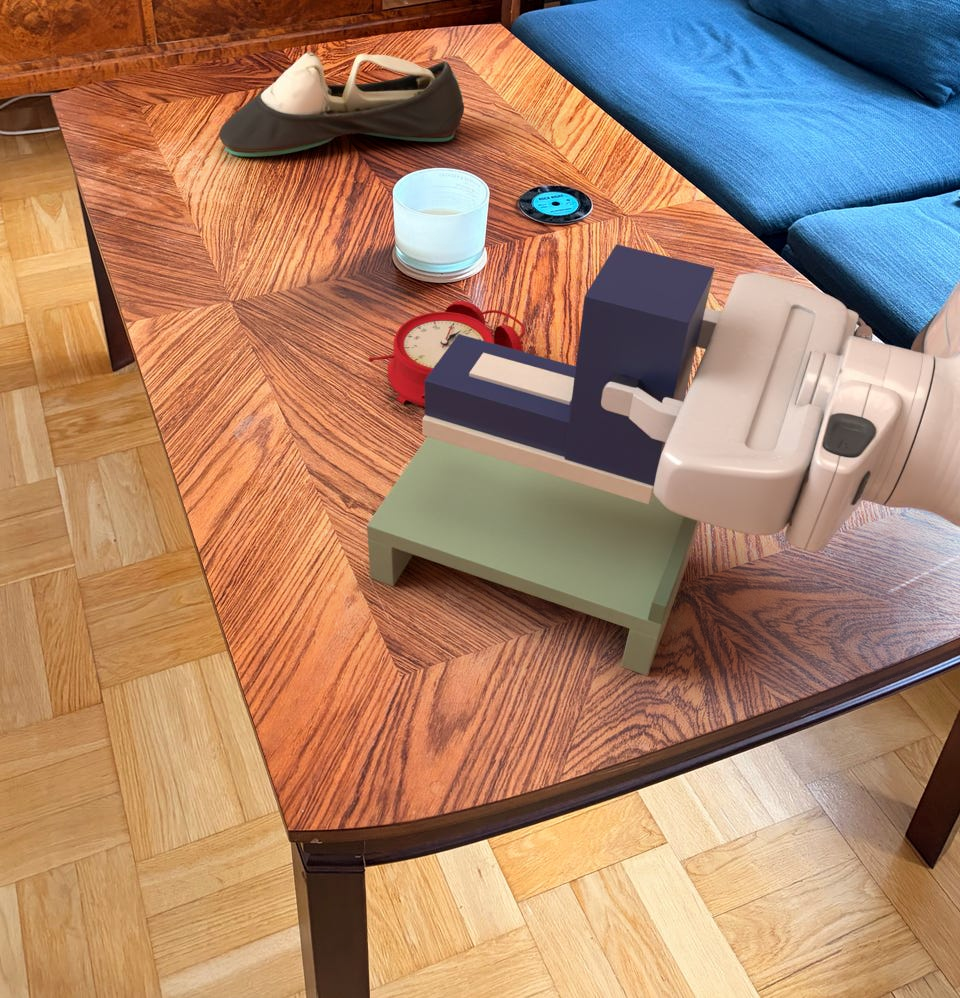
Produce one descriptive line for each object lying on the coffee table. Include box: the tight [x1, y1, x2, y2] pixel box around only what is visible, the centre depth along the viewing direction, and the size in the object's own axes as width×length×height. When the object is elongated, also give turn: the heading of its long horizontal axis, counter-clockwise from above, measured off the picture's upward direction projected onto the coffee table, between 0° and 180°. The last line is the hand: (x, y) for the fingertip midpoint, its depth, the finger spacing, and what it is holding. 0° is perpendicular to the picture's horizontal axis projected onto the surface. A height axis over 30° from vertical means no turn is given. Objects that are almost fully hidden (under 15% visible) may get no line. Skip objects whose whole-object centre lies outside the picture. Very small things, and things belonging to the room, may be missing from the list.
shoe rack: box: [366, 436, 701, 677], centre depth 75 cm, size 22×12×8 cm, turn 67°
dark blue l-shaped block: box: [421, 244, 715, 504], centre depth 63 cm, size 16×6×14 cm, turn 67°
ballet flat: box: [218, 51, 465, 158], centre depth 123 cm, size 10×30×10 cm, turn 106°
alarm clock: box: [368, 300, 526, 408], centre depth 93 cm, size 10×6×15 cm
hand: (623, 355), depth 61 cm, fingers closed on dark blue l-shaped block, 6 cm apart
